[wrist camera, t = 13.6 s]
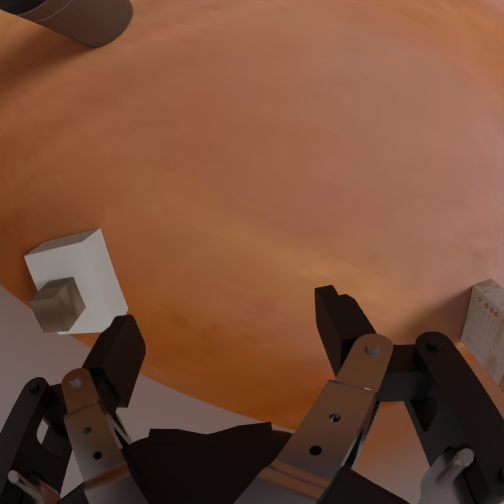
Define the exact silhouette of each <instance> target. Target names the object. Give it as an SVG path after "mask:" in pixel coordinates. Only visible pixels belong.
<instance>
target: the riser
mask: <svg viewBox="0 0 504 504" xmlns="http://www.w3.org/2000/svg"><path fill="white" fill-rule="evenodd" d="M24 258H25V260H26V263H27V266H28V268H29V271H30V274H31V276H32V278H33V281H34V283H35V286H36V288H37V290H38V291H39V290H40V289H41V288H42V287H43V286H44V285H45V284H46V283H47V282H49V281H51V280H57V279H63V278H68V277H74V279H75V282H76V284H77V287H78V289H79V292H80V294H81V297H82V299H83V301H84V304H85V306H86V308H85V309H84V311H83V312H82V314H81V315H80V316H79V318H78V319H77V320H76V322H75V323H74V325H73V326H72V327H71V329H70V330H69V331H65V332H58V334H75V333H93V332H103V331H104V330H105V329H106V328H107V327H109V326H110V324H111V323H112V321H113V319H114V318H115V316H120V315H125V314H126V313H127V311H128V307H127V304H126V302H125V299H124V297H123V294H122V291H121V289H120V286H119V283H118V280H117V278H116V275H115V272H114V269H113V266H112V263H111V260H110V257H109V254H108V251H107V248H106V245H105V242H104V239H103V235H102V232H101V228H98V229H93V230H89V231H85V232H81V233H77V234H73V235H69V236H65V237H61V238H58V239H54V240H50V241H46V242H43V243H42V244H41V245H39V246H38V247H36V248H35V249H34V250H32V251H31V252H29V253H28V254H27V255H25V256H24Z"/></svg>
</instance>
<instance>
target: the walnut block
mask: <svg viewBox="0 0 504 504" xmlns="http://www.w3.org/2000/svg"><path fill="white" fill-rule="evenodd" d="M28 302H29V304H30V306H31V308H32V310H33V312H34V314H35V316H36V318H37V320H38V322H39V324H40V326H41V328H42V330H43V332H65V331H69V330H70V329H71V327H72V326H73V325H74V323H75V322H76V320H77V319H78V318H79V316H80V315H81V314H82V312H83V311H84V309H85V308H86V306H85V304H84V301H83V299H82V297H81V294H80V292H79V289H78V287H77V284H76V282H75V279H74V277H68V278H63V279H57V280H51V281H49V282H47V283H46V284H45V285H44V286H43V287H42V288H41V289H40V290H39V291H38V292H37V293H36V294H35V295H34V296H33V297H32V298H31V299H30V300H29V301H28Z"/></svg>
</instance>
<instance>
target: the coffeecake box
mask: <svg viewBox="0 0 504 504" xmlns="http://www.w3.org/2000/svg"><path fill="white" fill-rule="evenodd" d="M460 341H461V342H462V343H463V344H464V345H465V346H466V347H467V348H468V350H469V351H470V352H471V353H472V354H473V355H474V357H475V358H476V359H477V360H478V361H479V363H480V364H481V365H482V366H483V367H484V369H486V371H487V372H488V373H489V375H490V376H491V377H492V378H493V380H494V381H495V382H496V383H497V384H498V386H499V387H500V388H501V390H502V391H503V392H504V288H503V287H502V286H501V285H499V284H498V283H497V282H495V281H494V280H493V279H490V280H487V281H485V282H483V283H481V284H478V285H475V286H473V287H472V293H471V298H470V303H469V308H468V312H467V316H466V320H465V325H464V329H463V332H462V336H461V340H460Z"/></svg>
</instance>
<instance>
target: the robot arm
mask: <svg viewBox="0 0 504 504" xmlns="http://www.w3.org/2000/svg"><path fill="white" fill-rule="evenodd" d="M0 9H1V10H3V11H6V12H8V13H11V14H14V15H17V16H19V17H22V18H24V19H27V20H29V21H32V22H34V23H37V24H39V25H41V26H44V27H46V28H48V29H51V30H53V31H55V32H57V33H59V34H62V35H64V36H66V37H68V38H70V39H72V40H74V41H76V42H78V43H80V44H82V45H84V46H87V47H100V46H103V45H106V44H108V43H110V42H111V41H113V40H114V39H116V38H117V37H118V36H119V35H120V34H122V32H123V31H124V30H125V29H126V27H127V26H128V24H129V22H130V20H131V17H132V12H133V11H132V5H131V3H130V1H129V0H0ZM315 309H316V323H317V328H318V332H319V335H320V337H321V340H322V342H323V345H324V348H325V350H326V353H327V356H328V358H329V361H330V364H331V366H332V369H333V372H334V374H335V377H336V378H335V380H334V381H333V380H328V381H327V383H326V384H325V385H324V387H323V389H322V390H321V392H320V394H319V395H318V397H317V398H316V400H315V402H314V403H313V405H312V406H311V408H310V410H309V411H308V413H307V414H306V416H305V417H304V419H303V420H302V422H301V423H300V425H299V426H298V428H297V429H296V431H295V432H294V434H292V433H289V432H284V431H277V430H272V425H271V422H265V423H258V424H249V425H239V426H236V427H233V428H229V429H226V430H223V431H219V432H215V433H211V434H200V433H195V432H190V431H185V430H180V429H150V432H149V436H148V437H147V438H143V439H140V440H138V441H135V442H133V441H132V440H131V438H130V436H129V434H128V432H127V431H126V429H125V427H124V425H123V423H122V421H121V419H120V417H119V416H118V414H117V413H116V409H117V407H124V408H127V407H128V405H129V401H130V398H131V395H132V392H133V389H134V386H135V383H136V380H137V377H138V374H139V371H140V368H141V365H142V362H143V360H144V357H145V353H146V347H145V342H144V340H143V337H142V335H141V333H140V330H139V328H138V326H137V323H136V321H135V319H134V317H133V316H132V315H120V316H115V318H114V319H113V321H112V323H111V324H110V326H109V327H107V328H106V329H105V330H104V331H103V332H102V333H101V334H100V335H99V337H98V339H97V341H96V343H95V344H94V346H93V349H91V352H90V353H89V355H88V357H87V359H86V360H85V362H84V364H83V366H82V368H77V369H74V370H72V371H70V372H68V373H67V374H66V375H65V376H64V378H63V379H62V383H61V384H56V385H52V386H49V384H48V383H47V381H46V380H45V379H44V378H42V377H37V378H34V379H32V380H30V381H29V382H28V383H27V384H26V385H25V386H24V388H23V390H22V392H21V394H20V395H19V397H18V399H17V401H16V403H15V405H14V407H13V408H12V410H11V412H10V414H9V416H8V418H7V420H6V422H5V425H4V427H3V429H2V431H1V433H0V504H410V503H408V502H407V501H406V500H404V499H402V498H400V497H399V496H397V495H395V494H393V493H391V492H389V491H387V490H386V489H384V488H382V487H380V486H379V485H377V484H375V483H373V482H372V481H370V480H368V479H366V478H365V477H363V476H361V475H360V474H358V473H357V472H355V471H353V470H352V469H353V467H354V465H355V463H356V461H357V459H358V457H359V454H360V452H361V450H362V447H363V445H364V442H365V440H366V437H367V435H368V433H369V430H370V428H371V426H372V423H373V421H374V419H375V416H376V414H377V412H378V409H379V407H380V404H381V402H391V401H404V403H405V406H406V408H407V410H408V413H409V415H410V417H411V420H412V422H413V425H414V427H415V429H416V432H417V434H418V437H419V439H420V442H421V444H422V447H423V450H424V452H425V455H426V457H427V460H428V463H429V465H430V468H429V470H428V471H427V472H426V473H425V475H424V476H423V478H422V480H421V485H420V490H421V498H420V501H419V503H418V504H499V503H501V502H502V501H504V419H503V418H502V416H501V414H500V413H499V411H498V409H497V408H496V406H495V404H494V403H493V401H492V400H491V398H490V396H489V395H488V393H487V392H486V390H485V389H484V387H483V386H482V384H481V383H480V381H479V380H478V378H477V377H476V375H475V374H474V372H473V371H472V369H471V368H470V367H469V365H468V364H467V362H466V361H465V359H464V358H463V357H462V355H461V354H460V352H459V351H458V350H457V348H456V347H455V346H454V344H453V343H452V341H451V340H450V339H449V338H448V337H447V336H446V335H444V334H442V333H439V332H425V333H423V334H421V335H420V336H419V337H418V338H417V339H416V343H415V344H413V345H394V344H392V342H391V341H390V339H388V338H387V337H385V336H383V335H380V334H377V333H376V331H375V330H374V328H373V327H372V325H371V324H370V322H369V320H368V319H367V317H366V316H365V314H364V313H363V311H362V309H361V308H360V306H359V305H358V303H357V302H356V300H355V299H354V298H352V297H350V296H349V295H347V294H343V295H338V293H337V292H336V290H335V288H334V287H333V285H329V286H323V287H318V288H315ZM42 419H43V421H44V422H45V423H46V424H47V425H48V426H49V427H48V430H47V432H46V435H45V437H44V440H43V442H42V445H41V444H40V443H39V441H38V439H37V429H38V427H39V425H40V423H41V420H42ZM72 449H73V452H74V455H75V458H76V460H77V463H78V466H79V469H80V471H81V474H82V477H83V479H84V482H82V483H81V484H80V485H79V486H77V487H76V488H75V489H73V490H72V491H71V492H70V493H68V494H67V495H66V496H64V497H63V498H62V499H61V498H60V493H61V489H62V485H63V481H64V477H65V474H66V470H67V466H68V463H69V459H70V456H71V452H72Z"/></svg>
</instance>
